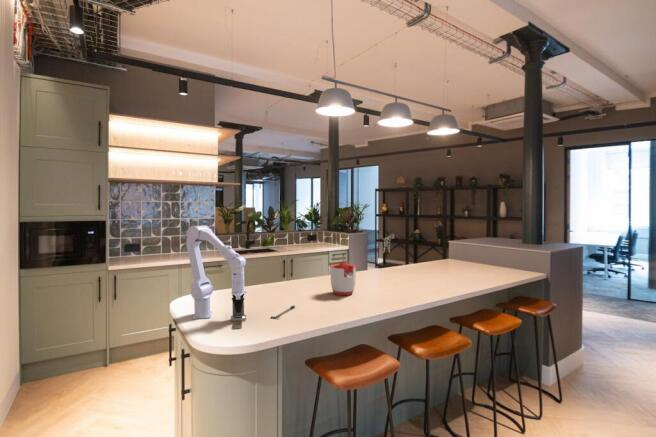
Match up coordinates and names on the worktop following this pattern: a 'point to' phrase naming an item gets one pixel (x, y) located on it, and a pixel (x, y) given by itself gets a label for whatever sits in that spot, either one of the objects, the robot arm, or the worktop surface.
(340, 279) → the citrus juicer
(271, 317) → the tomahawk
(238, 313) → the dark grey block
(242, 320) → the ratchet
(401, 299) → the worktop surface
